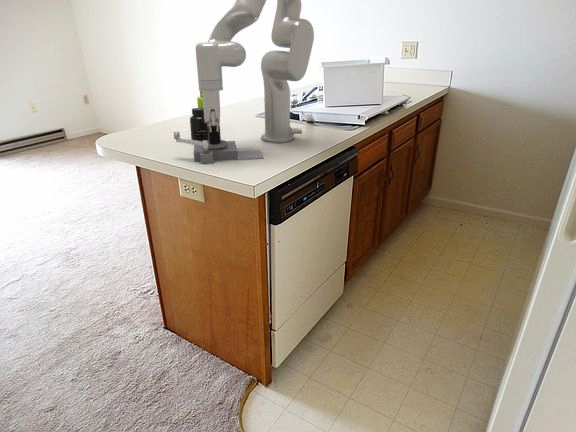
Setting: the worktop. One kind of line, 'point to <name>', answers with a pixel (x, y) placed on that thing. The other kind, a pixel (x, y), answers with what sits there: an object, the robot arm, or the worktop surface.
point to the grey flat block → (216, 153)
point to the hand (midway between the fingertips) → (214, 141)
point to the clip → (192, 142)
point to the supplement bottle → (198, 125)
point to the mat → (249, 154)
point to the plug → (222, 142)
